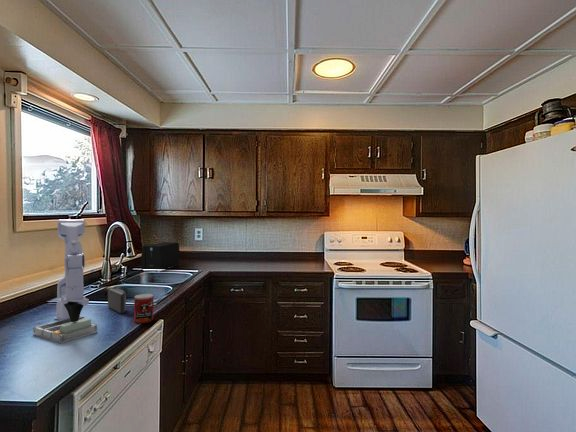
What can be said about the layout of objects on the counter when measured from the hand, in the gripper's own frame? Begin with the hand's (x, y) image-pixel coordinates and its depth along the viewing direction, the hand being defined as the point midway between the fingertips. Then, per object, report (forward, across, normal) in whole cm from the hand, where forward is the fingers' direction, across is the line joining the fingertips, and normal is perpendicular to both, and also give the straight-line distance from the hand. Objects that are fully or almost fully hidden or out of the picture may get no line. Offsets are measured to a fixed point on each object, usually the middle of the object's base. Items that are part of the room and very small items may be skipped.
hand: (74, 321), depth 136 cm
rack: (+6, -6, 0) cm, 8 cm away
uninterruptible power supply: (+6, -92, +127) cm, 156 cm away
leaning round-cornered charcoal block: (+6, -17, +30) cm, 35 cm away
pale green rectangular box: (+5, 0, 0) cm, 5 cm away
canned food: (+6, +7, +26) cm, 28 cm away
